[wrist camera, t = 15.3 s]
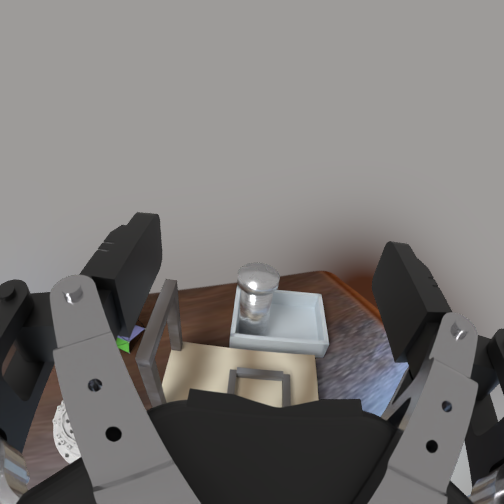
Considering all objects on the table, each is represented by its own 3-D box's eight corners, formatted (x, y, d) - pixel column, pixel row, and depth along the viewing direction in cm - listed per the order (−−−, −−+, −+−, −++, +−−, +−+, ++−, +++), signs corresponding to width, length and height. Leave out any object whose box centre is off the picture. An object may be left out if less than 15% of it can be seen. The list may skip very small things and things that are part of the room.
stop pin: (232, 343, 40) (235, 285, 35) (236, 317, 45) (240, 260, 39) (269, 346, 40) (279, 289, 35) (270, 320, 44) (279, 264, 39)
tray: (229, 350, 40) (230, 336, 38) (235, 299, 48) (237, 285, 47) (323, 357, 40) (329, 344, 39) (316, 307, 48) (321, 294, 47)
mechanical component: (152, 435, 29) (95, 387, 32) (145, 420, 26) (84, 368, 30) (98, 491, 21) (44, 433, 25) (83, 482, 19) (27, 418, 22)
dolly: (156, 427, 29) (132, 366, 22) (175, 351, 39) (166, 276, 31) (327, 443, 30) (372, 388, 22) (320, 366, 39) (350, 296, 32)
